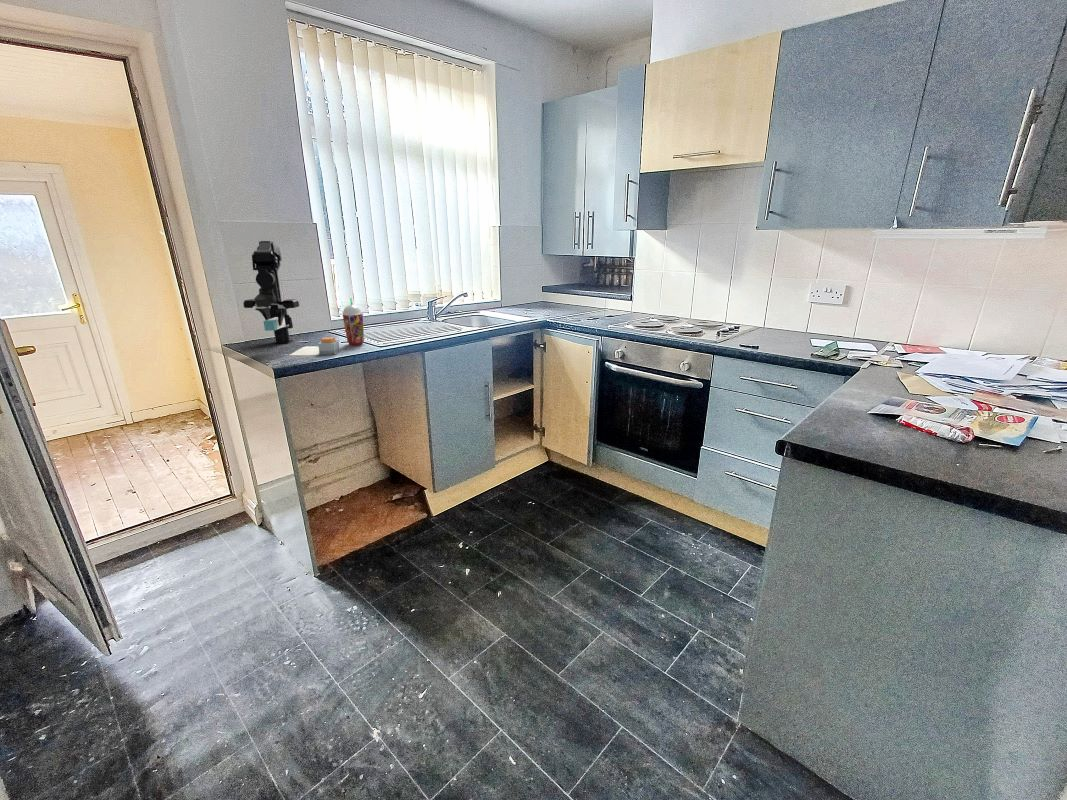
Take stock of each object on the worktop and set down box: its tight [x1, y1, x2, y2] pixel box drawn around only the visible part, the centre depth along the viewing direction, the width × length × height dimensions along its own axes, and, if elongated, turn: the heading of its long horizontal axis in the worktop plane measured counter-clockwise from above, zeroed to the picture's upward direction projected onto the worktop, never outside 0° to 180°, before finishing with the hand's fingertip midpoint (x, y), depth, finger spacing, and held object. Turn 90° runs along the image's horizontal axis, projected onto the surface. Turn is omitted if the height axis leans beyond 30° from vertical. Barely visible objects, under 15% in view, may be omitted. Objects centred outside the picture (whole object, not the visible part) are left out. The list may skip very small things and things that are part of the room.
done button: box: [320, 336, 336, 343], centre depth 187 cm, size 4×4×3 cm
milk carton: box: [263, 317, 287, 332], centre depth 184 cm, size 10×4×4 cm, turn 5°
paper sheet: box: [289, 345, 320, 356], centre depth 191 cm, size 16×11×1 cm
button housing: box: [317, 339, 341, 356], centre depth 188 cm, size 6×6×4 cm
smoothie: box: [342, 297, 365, 347], centre depth 201 cm, size 8×8×20 cm
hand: (275, 325), depth 184 cm, fingers closed on milk carton, 4 cm apart
